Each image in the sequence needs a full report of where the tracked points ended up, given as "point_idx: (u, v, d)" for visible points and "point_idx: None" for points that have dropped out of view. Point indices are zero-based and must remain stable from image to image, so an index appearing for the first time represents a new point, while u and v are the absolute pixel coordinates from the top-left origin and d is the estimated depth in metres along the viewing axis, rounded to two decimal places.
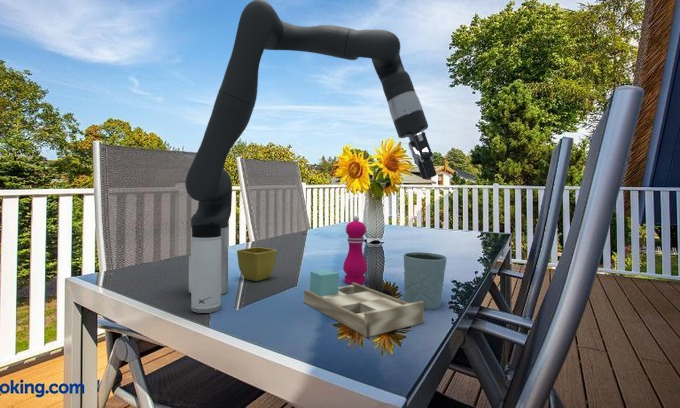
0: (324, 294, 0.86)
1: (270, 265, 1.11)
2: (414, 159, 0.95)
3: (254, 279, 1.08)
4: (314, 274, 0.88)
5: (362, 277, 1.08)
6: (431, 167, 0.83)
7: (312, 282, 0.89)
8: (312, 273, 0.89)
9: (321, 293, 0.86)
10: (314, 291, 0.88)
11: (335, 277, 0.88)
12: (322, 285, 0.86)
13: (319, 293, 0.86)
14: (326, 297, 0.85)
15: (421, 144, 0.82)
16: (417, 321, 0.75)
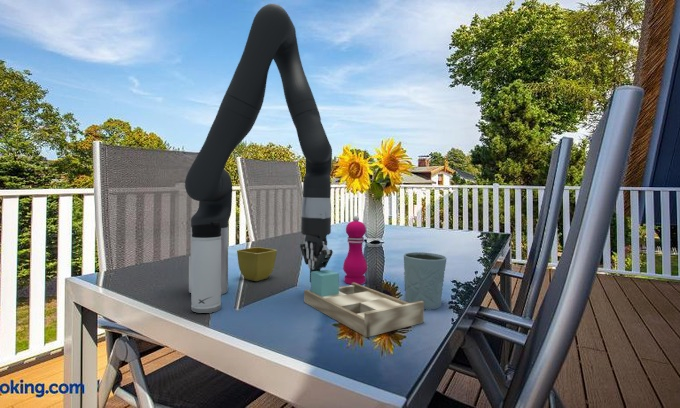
0: (325, 294, 0.86)
1: (270, 265, 1.11)
2: (306, 258, 0.94)
3: (254, 279, 1.08)
4: (314, 274, 0.88)
5: (362, 277, 1.08)
6: None
7: (313, 283, 0.88)
8: (312, 273, 0.89)
9: (322, 293, 0.85)
10: (314, 291, 0.88)
11: (336, 277, 0.88)
12: (323, 285, 0.86)
13: (320, 293, 0.86)
14: (326, 297, 0.85)
15: (324, 260, 0.89)
16: (417, 321, 0.75)
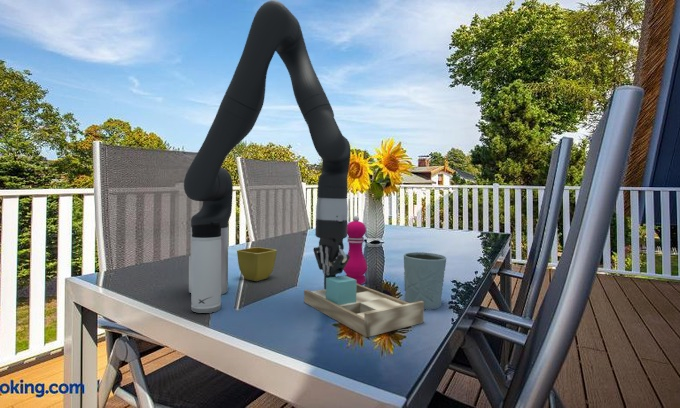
0: (341, 303, 0.80)
1: (270, 265, 1.11)
2: (320, 263, 0.88)
3: (254, 279, 1.08)
4: (330, 281, 0.82)
5: (362, 277, 1.08)
6: None
7: (328, 290, 0.82)
8: (328, 280, 0.82)
9: (338, 301, 0.79)
10: (330, 299, 0.82)
11: (353, 284, 0.81)
12: (339, 293, 0.79)
13: (336, 302, 0.80)
14: None
15: (340, 265, 0.83)
16: (417, 321, 0.75)
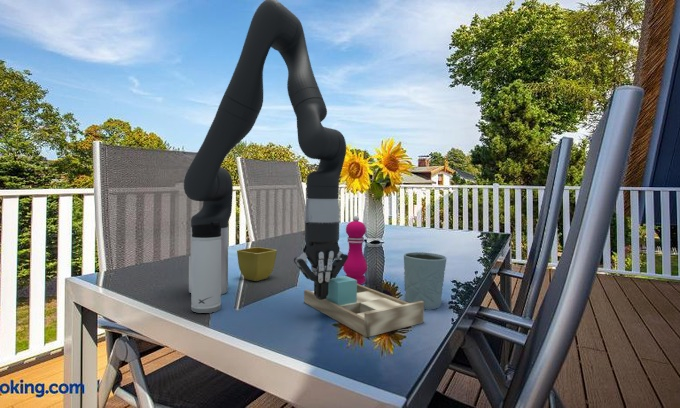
0: (342, 303, 0.80)
1: (270, 265, 1.11)
2: None
3: (254, 279, 1.08)
4: (330, 281, 0.81)
5: (362, 277, 1.08)
6: (316, 290, 0.79)
7: (328, 290, 0.82)
8: None
9: (338, 301, 0.79)
10: (330, 299, 0.82)
11: (353, 284, 0.81)
12: (340, 293, 0.79)
13: (336, 302, 0.79)
14: None
15: (301, 270, 0.77)
16: (417, 321, 0.75)
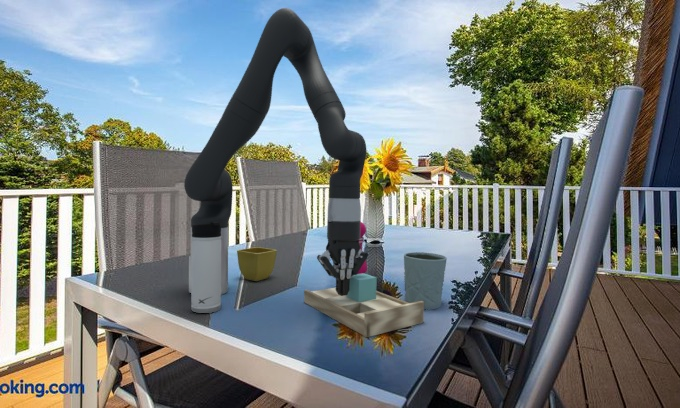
0: (362, 299, 0.82)
1: (270, 265, 1.11)
2: None
3: (254, 279, 1.08)
4: (351, 278, 0.84)
5: None
6: (338, 286, 0.82)
7: (349, 287, 0.85)
8: None
9: (359, 298, 0.82)
10: (351, 296, 0.84)
11: (373, 282, 0.84)
12: (360, 290, 0.82)
13: (357, 298, 0.82)
14: (326, 297, 0.85)
15: (324, 267, 0.80)
16: (417, 321, 0.75)
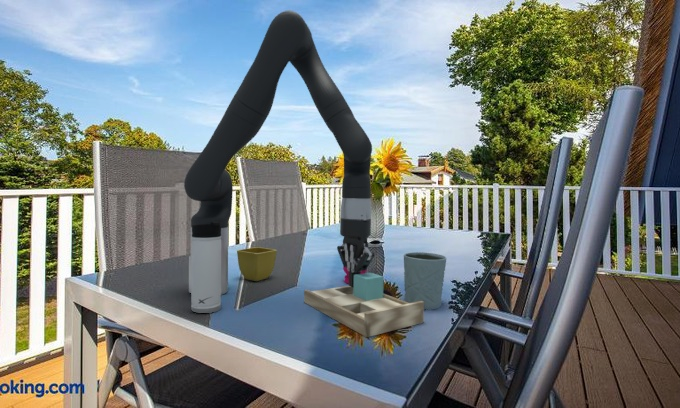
0: (370, 298, 0.83)
1: (270, 265, 1.11)
2: (344, 261, 0.91)
3: (254, 279, 1.08)
4: (358, 278, 0.85)
5: None
6: None
7: (356, 286, 0.86)
8: (356, 277, 0.86)
9: (367, 297, 0.83)
10: (358, 295, 0.85)
11: (380, 281, 0.85)
12: (368, 289, 0.83)
13: (364, 297, 0.83)
14: (326, 297, 0.85)
15: (365, 263, 0.86)
16: (417, 321, 0.75)
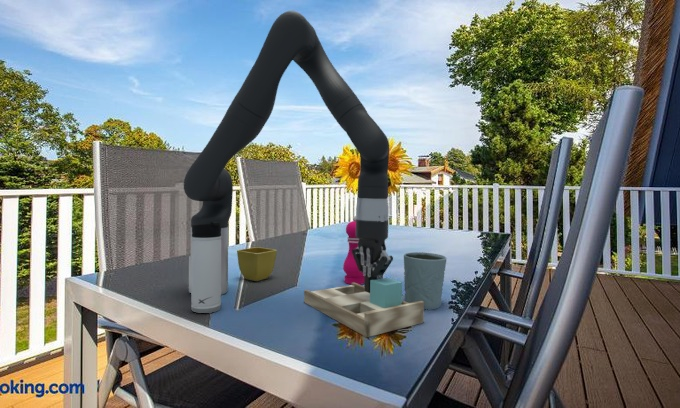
0: (388, 306, 0.78)
1: (270, 265, 1.11)
2: (359, 265, 0.86)
3: (254, 279, 1.08)
4: (375, 283, 0.80)
5: (362, 277, 1.08)
6: None
7: (373, 292, 0.81)
8: (373, 282, 0.81)
9: (385, 304, 0.78)
10: (375, 302, 0.80)
11: (399, 287, 0.80)
12: (386, 296, 0.78)
13: (383, 304, 0.78)
14: (326, 297, 0.85)
15: (383, 267, 0.81)
16: (417, 321, 0.75)
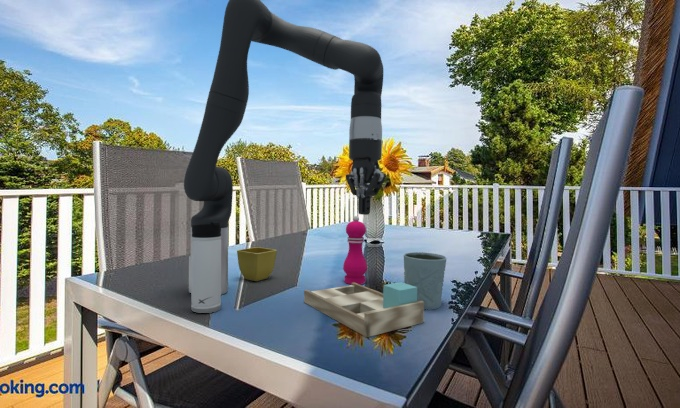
0: None
1: (270, 265, 1.11)
2: (353, 188, 0.86)
3: (254, 279, 1.08)
4: (389, 288, 0.76)
5: (362, 277, 1.08)
6: (369, 205, 0.83)
7: (386, 298, 0.77)
8: (386, 287, 0.77)
9: None
10: None
11: (414, 292, 0.76)
12: (401, 301, 0.74)
13: None
14: (326, 297, 0.85)
15: (376, 185, 0.80)
16: (417, 321, 0.75)
